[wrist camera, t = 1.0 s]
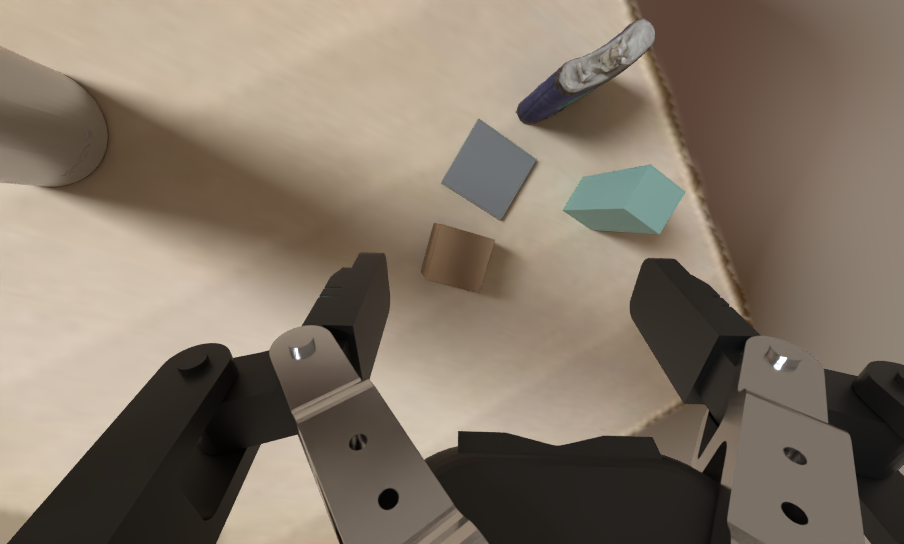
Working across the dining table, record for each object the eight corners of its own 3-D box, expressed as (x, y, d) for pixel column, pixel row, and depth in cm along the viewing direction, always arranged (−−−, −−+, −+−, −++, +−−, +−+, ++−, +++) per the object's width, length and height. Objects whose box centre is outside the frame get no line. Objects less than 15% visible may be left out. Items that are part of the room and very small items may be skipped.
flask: (586, 59, 37) (668, -3, 26) (599, 87, 37) (683, 37, 27) (510, 105, 36) (563, 61, 25) (524, 133, 37) (581, 100, 26)
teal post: (562, 210, 38) (623, 208, 29) (582, 177, 38) (650, 164, 29) (591, 229, 39) (659, 234, 30) (610, 197, 39) (685, 191, 30)
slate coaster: (439, 183, 36) (441, 182, 35) (475, 121, 36) (478, 118, 35) (497, 219, 38) (500, 220, 37) (531, 161, 38) (536, 159, 36)
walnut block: (420, 271, 37) (426, 279, 32) (433, 223, 36) (441, 224, 31) (466, 283, 38) (479, 293, 33) (480, 236, 37) (495, 239, 32)
